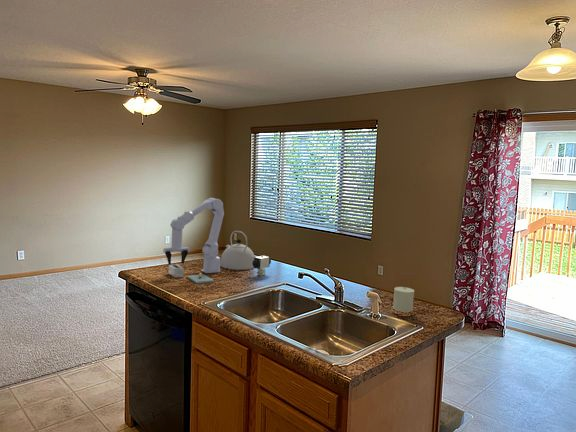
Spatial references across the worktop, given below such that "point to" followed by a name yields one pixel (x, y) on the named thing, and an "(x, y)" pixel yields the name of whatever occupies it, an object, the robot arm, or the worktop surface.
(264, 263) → the pneumatic valve
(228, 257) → the kettle
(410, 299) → the can
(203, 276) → the board
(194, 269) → the worktop surface
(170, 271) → the block
